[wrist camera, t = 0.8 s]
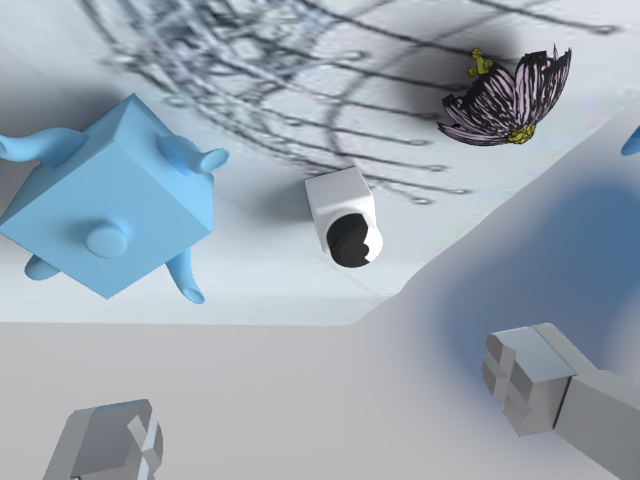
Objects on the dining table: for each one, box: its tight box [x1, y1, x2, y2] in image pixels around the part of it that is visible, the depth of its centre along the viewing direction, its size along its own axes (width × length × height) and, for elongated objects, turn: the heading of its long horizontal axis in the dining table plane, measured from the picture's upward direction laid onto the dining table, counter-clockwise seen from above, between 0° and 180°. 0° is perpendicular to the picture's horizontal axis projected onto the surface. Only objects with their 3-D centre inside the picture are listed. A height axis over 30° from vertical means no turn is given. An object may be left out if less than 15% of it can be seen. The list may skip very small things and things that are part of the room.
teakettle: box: [0, 93, 230, 304], centre depth 42 cm, size 19×19×15 cm
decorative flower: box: [436, 44, 571, 146], centre depth 46 cm, size 14×12×15 cm
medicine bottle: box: [305, 167, 382, 268], centre depth 51 cm, size 7×7×12 cm
